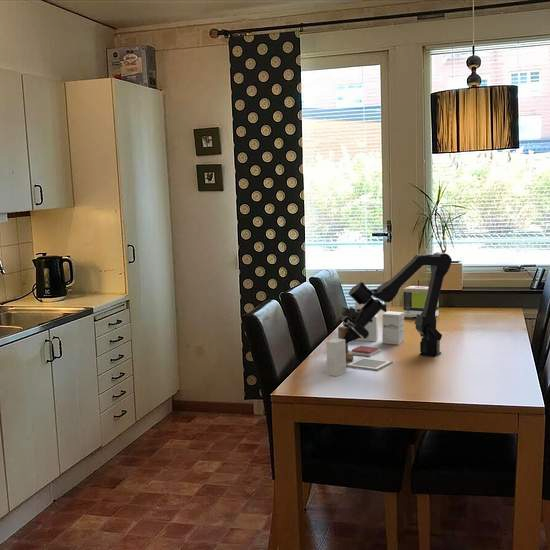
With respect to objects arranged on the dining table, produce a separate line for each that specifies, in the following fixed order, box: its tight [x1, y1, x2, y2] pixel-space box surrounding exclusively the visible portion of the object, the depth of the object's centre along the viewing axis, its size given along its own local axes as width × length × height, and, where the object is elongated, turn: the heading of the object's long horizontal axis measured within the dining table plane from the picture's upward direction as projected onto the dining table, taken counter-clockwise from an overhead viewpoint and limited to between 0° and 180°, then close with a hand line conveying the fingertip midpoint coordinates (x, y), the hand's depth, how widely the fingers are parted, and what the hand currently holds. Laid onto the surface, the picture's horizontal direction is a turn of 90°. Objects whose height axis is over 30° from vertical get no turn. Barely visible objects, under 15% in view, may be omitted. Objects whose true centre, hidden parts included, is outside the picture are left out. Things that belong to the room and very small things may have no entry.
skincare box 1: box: [325, 337, 347, 377], centre depth 241 cm, size 6×4×12 cm
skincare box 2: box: [352, 314, 379, 342], centre depth 295 cm, size 10×6×10 cm, turn 74°
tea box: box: [402, 285, 440, 318], centre depth 342 cm, size 15×10×15 cm, turn 58°
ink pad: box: [349, 345, 381, 358], centre depth 271 cm, size 9×9×2 cm
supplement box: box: [381, 310, 405, 346], centre depth 287 cm, size 7×7×13 cm
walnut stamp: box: [337, 326, 354, 363], centre depth 260 cm, size 6×6×12 cm
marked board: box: [346, 357, 394, 372], centre depth 253 cm, size 13×13×1 cm
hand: (339, 343), depth 260 cm, fingers closed on walnut stamp, 4 cm apart
